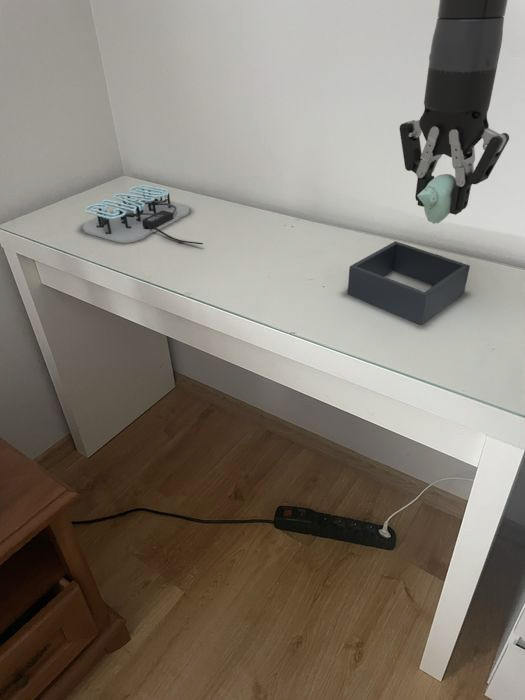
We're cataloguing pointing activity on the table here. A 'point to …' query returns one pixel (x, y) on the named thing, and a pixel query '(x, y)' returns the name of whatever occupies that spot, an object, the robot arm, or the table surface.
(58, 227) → the table surface
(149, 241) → the table surface
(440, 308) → the bin
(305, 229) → the table surface
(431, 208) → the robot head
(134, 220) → the neon sign
